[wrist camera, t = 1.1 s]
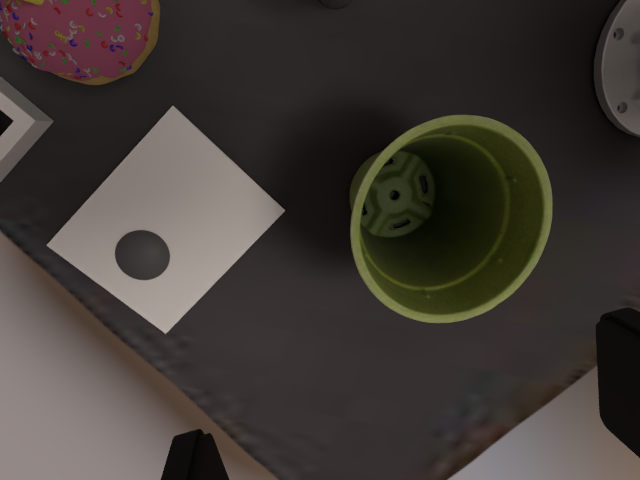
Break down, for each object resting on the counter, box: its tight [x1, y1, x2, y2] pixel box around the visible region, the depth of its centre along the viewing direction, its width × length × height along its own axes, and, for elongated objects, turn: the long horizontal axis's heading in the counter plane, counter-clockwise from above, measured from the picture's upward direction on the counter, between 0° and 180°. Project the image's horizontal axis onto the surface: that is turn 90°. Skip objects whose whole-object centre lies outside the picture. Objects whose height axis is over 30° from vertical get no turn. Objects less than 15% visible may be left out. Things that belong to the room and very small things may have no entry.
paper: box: [47, 106, 285, 334], centre depth 32 cm, size 14×11×1 cm
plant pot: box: [350, 115, 552, 323], centre depth 29 cm, size 12×12×11 cm
